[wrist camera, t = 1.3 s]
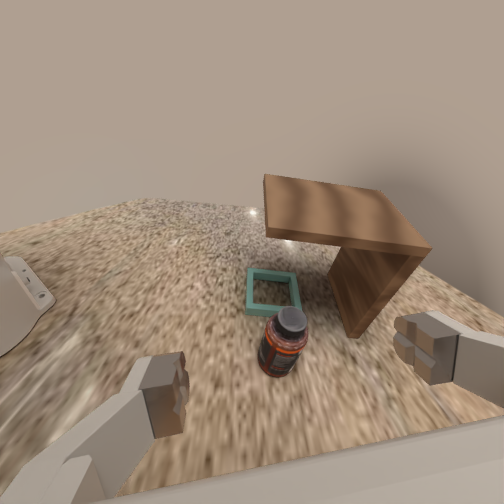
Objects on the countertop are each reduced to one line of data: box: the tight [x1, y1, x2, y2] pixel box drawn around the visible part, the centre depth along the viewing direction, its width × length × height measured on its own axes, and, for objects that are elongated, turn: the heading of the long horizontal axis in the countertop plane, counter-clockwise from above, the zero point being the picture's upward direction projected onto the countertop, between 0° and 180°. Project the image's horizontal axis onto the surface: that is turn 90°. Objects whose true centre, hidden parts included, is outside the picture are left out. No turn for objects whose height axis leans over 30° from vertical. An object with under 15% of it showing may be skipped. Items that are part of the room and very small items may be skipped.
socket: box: [245, 268, 302, 317], centre depth 47 cm, size 10×10×2 cm
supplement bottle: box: [258, 306, 308, 377], centre depth 34 cm, size 6×6×11 cm
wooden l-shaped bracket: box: [263, 174, 432, 339], centre depth 42 cm, size 21×16×22 cm
